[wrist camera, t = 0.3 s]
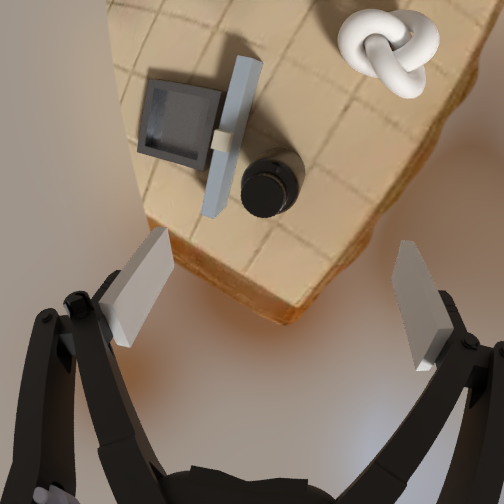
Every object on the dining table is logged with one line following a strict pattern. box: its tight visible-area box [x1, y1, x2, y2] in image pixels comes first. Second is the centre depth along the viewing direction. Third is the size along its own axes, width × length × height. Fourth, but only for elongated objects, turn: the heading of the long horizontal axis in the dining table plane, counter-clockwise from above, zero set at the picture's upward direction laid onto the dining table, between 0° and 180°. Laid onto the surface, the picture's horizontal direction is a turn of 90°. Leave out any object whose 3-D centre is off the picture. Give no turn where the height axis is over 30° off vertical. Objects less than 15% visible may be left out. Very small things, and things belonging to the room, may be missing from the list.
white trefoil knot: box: [337, 9, 440, 99], centre depth 27 cm, size 11×12×9 cm
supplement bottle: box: [241, 148, 305, 218], centre depth 37 cm, size 7×7×12 cm
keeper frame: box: [137, 79, 228, 171], centre depth 41 cm, size 12×12×2 cm
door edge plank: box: [201, 55, 263, 219], centre depth 39 cm, size 22×2×6 cm, turn 165°
